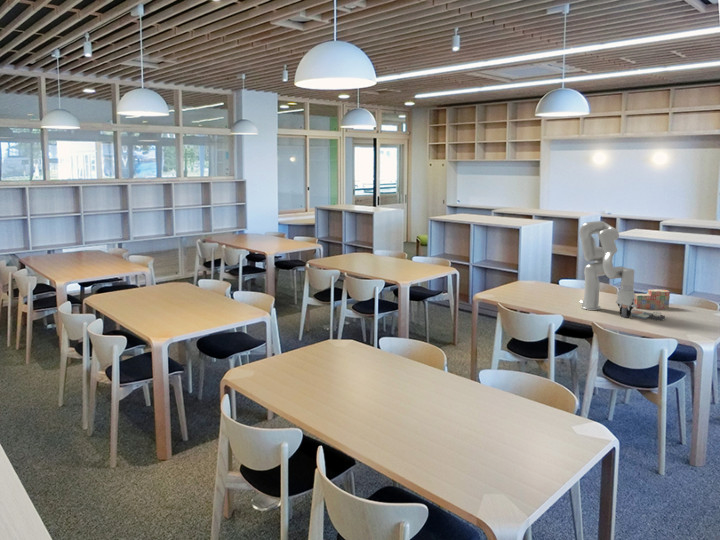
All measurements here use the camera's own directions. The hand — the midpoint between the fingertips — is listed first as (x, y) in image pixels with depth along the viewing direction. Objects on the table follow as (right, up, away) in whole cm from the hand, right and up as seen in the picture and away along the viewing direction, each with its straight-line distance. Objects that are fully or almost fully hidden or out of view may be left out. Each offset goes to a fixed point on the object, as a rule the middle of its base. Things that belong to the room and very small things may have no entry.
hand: (625, 314), depth 386 cm
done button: (+18, -1, -6) cm, 19 cm away
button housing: (+18, -2, -6) cm, 19 cm away
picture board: (+11, 0, +5) cm, 12 cm away
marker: (0, -2, 0) cm, 2 cm away
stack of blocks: (+28, +3, +23) cm, 37 cm away
